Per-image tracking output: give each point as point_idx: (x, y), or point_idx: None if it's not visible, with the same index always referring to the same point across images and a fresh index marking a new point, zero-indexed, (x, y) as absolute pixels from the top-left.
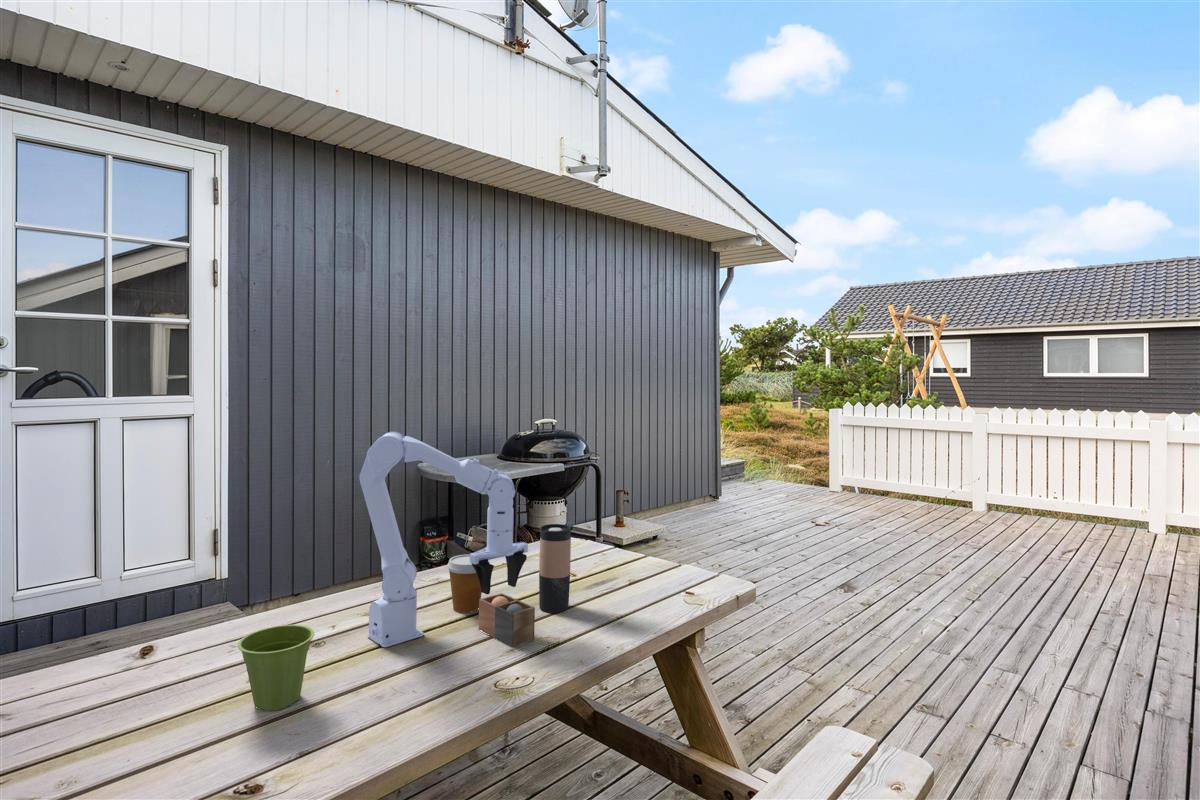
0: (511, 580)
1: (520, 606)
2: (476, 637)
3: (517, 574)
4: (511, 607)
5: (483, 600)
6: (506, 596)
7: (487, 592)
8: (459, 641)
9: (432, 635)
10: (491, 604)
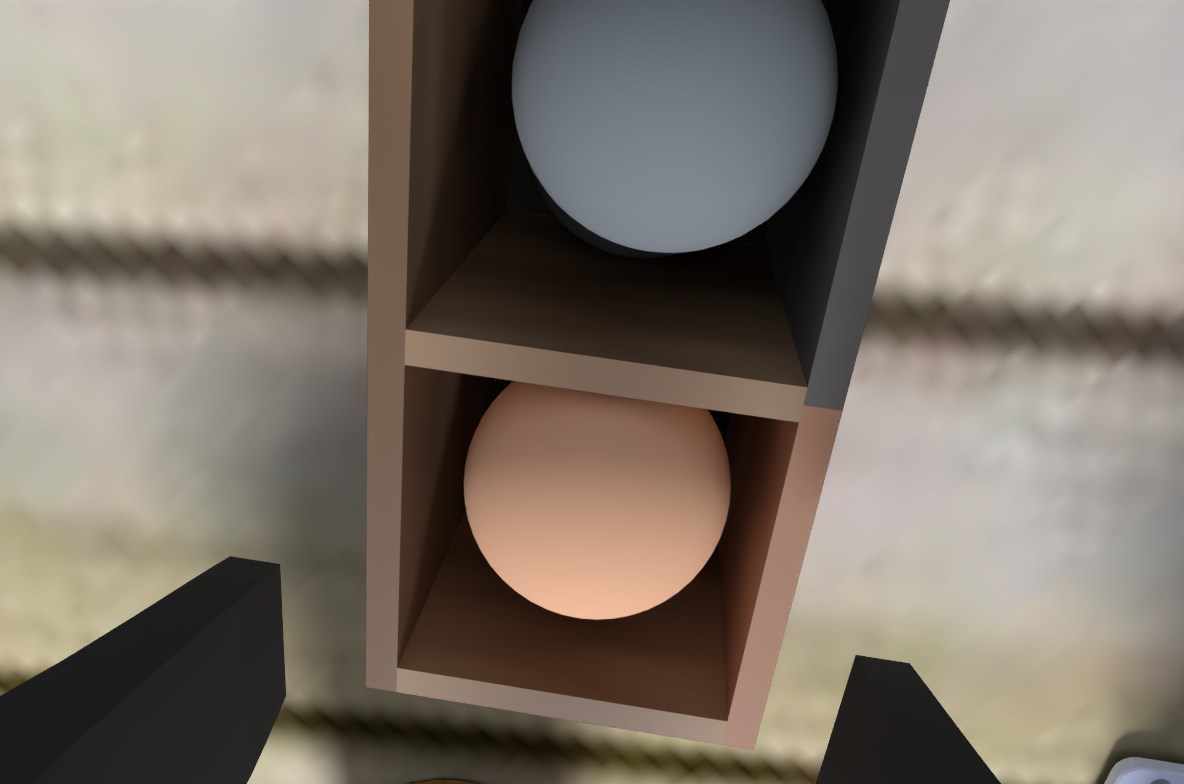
0: (226, 701)
1: (605, 12)
2: (873, 416)
3: (57, 703)
4: (775, 103)
5: (744, 690)
6: (398, 564)
7: (923, 686)
8: (1045, 471)
9: (1064, 716)
10: (797, 516)
